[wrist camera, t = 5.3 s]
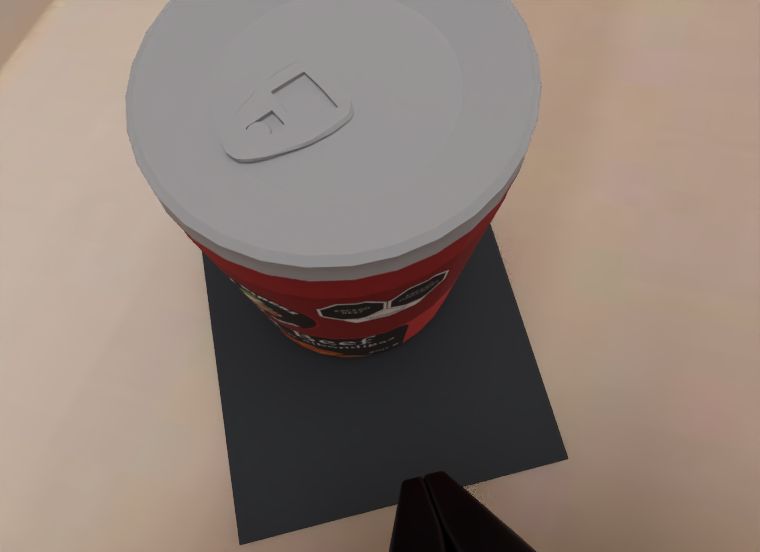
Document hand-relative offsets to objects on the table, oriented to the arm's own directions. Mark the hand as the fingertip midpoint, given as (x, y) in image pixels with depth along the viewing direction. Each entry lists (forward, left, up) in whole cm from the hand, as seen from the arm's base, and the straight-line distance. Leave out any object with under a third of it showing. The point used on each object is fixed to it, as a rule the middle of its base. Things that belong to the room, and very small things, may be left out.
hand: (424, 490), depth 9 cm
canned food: (+7, +2, -9) cm, 12 cm away
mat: (+5, +1, -9) cm, 10 cm away
